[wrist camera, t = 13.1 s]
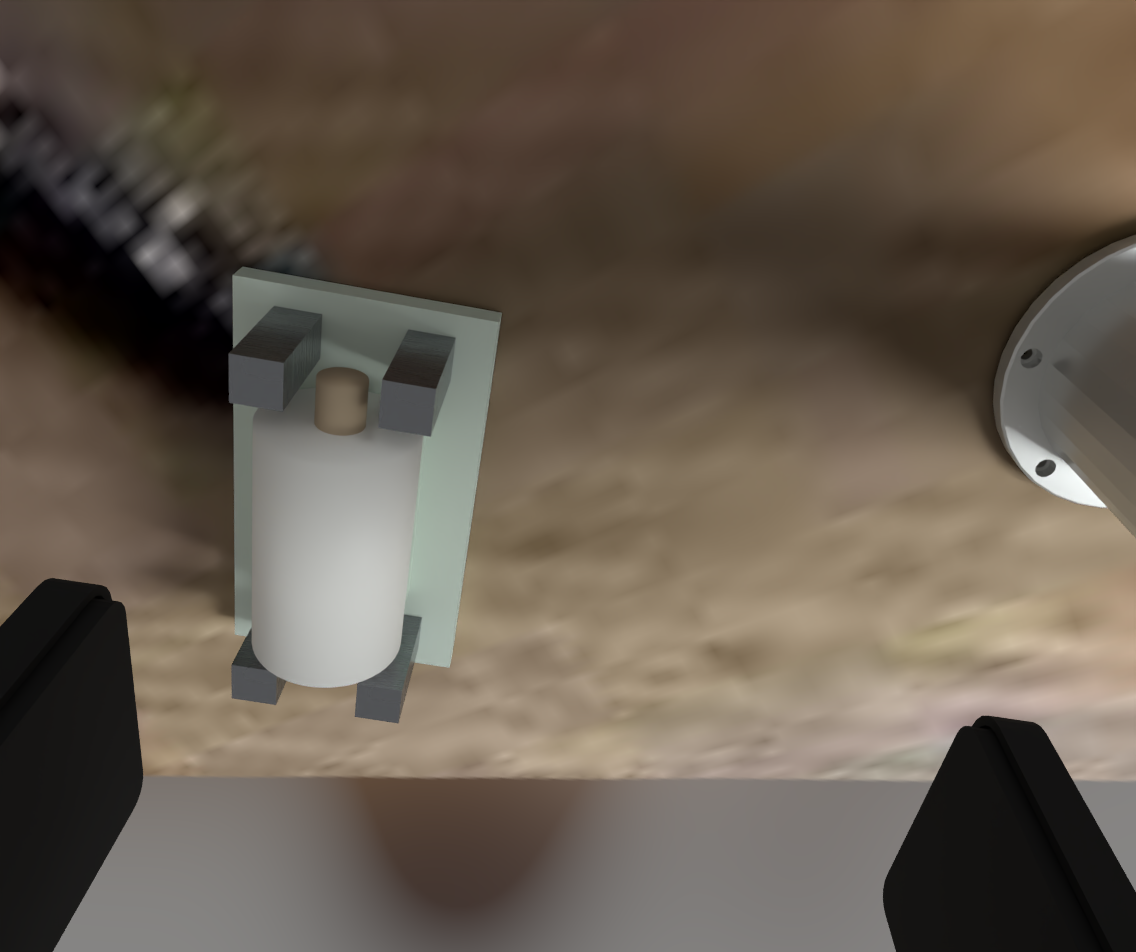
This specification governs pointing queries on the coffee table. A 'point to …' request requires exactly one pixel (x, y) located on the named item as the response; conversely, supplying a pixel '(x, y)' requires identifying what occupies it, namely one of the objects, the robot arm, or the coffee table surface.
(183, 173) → the coffee table surface
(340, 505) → the paper roll
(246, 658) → the roll holder
